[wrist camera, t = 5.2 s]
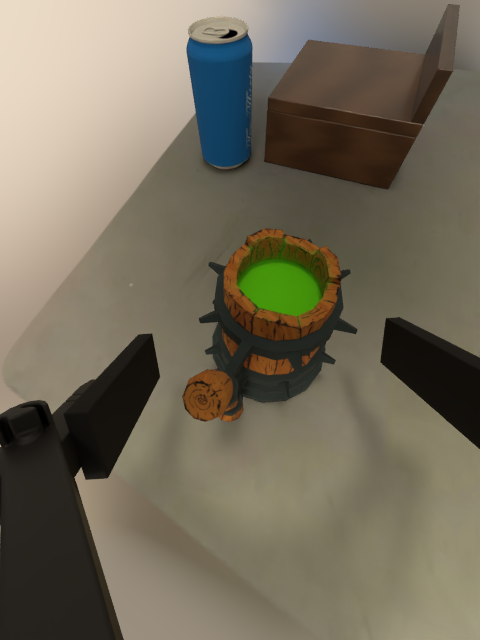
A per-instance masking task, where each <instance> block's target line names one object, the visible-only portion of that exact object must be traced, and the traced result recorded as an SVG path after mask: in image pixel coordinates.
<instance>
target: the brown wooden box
mask: <svg viewBox="0 0 480 640" xmlns="http://www.w3.org/2000/svg"><path fill="white" fill-rule="evenodd" d="M459 8H460V6H459V5H452V4H448V6H447V8H446V10H445V12H444V14H443V17H442V19H441V21H440V23H439V25H438V27H437V30H436V32H435V34H434V36H433V39H432V41H431V43H430V45H429V47H428V49H427V52H426V54H425V55H424V54H416V53H408V52H401V51H392V50H385V49H377V48H369V47H361V46H353V45H345V44H338V43H329V42H322V41H314V40H308V41H307V42H306V44H305V45H304V47H303V48H302V50H301V51H300V52H299V54H298V55H297V57H296V58H295V60H294V61H293V63H292V64H291V66H290V67H289V68H288V70H287V71H286V73H285V74H284V76H283V77H282V79H281V80H280V81H279V83H278V84H277V86H276V87H275V89H274V90H273V92H272V93H271V94H270V96H269V97H268V111H267V127H266V143H265V159H264V161H266V162H270V163H275V164H279V165H283V166H288V167H292V168H297V169H301V170H305V171H310V172H314V173H319V174H323V175H328V176H332V177H336V178H341V179H345V180H350V181H354V182H358V183H363V184H367V185H372V186H376V187H381V188H385V189H388V188H389V186H390V185H391V183H392V181H393V179H394V177H395V175H396V174H397V172H398V170H399V168H400V166H401V165H402V163H403V161H404V159H405V157H406V155H407V154H408V152H409V150H410V148H411V146H412V145H413V143H414V141H415V139H416V137H417V135H418V134H419V132H420V130H421V128H422V126H423V124H424V123H425V121H426V119H427V117H428V115H429V114H430V112H431V110H432V108H433V106H434V105H435V103H436V101H437V99H438V97H439V95H440V94H441V92H442V90H443V88H444V86H445V85H446V83H447V81H448V79H449V77H450V75H451V74H452V72H453V65H454V56H455V46H456V37H457V27H458V18H459Z"/></svg>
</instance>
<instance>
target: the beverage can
mask: <svg viewBox="0 0 480 640" xmlns="http://www.w3.org/2000/svg"><path fill="white" fill-rule="evenodd" d="M247 32H248V25H247V24H246V23H245V22H244V21H242V20H239V19H236V18H231V17H213V18H207V19H202V20H200V21H197V22H195V23H193V24H192V25H191V26H190V27H189V29H188V33H189V36H190V38H189V41H188V44H187V57H188V63H189V70H190V76H191V83H192V89H193V96H194V103H195V109H196V116H197V123H198V129H199V136H200V142H201V149H202V155H203V158H204V159H205V161H207V162H208V163H209V164H211V165H213V166H214V167H216V168H219V169H233V168H236V167H238V166H240V165H241V164H242V163H243V162H245V161H246V160H247V159H248V158H249V156H250V154H251V106H252V43H251V40H250V38H249V36H248V34H247Z"/></svg>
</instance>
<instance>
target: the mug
mask: <svg viewBox="0 0 480 640" xmlns="http://www.w3.org/2000/svg"><path fill="white" fill-rule="evenodd" d="M208 266H209V267H211V268H212V269H213V270H214V271H215V272H216V273H218V274H219V276H218V278H217V286H216V293H215V300H213V304H214V309H215V311H213V312H211V313H209V314H207V315H205V316H203V317H201V318H199V321H200V323H210V322H218V325H217V327H216V329H215V332H214V334H213V346H212V347H210V348H208V349H207V350H205V352H206V355H207V354H213V359H214V361H215V363H216V365H217V367H218V370H208V369H207V370H205V371H203V372H201V373H199V374H197V375H196V376H194V377H192V378H190V379H189V381H188V384H187V386H186V389H185V391H184V394H183V396H182V397H183V402H184V406H185V409H186V410H187V412H188V413H189V414H190V415H191V416H192V417H193V418H194V419H198V420H201V421H205V422H206V421H209V420H212V419H214V418H217V417H219V418H220V419H221V420H224V421H228V422H231V421H234V420H236V419H238V418H239V417H240V415H241V413H242V411H243V403H242V400H243V396H245V397H248V398H251V399H254V400H256V401H259V402H275V401H286V400H288V399H290V398H291V397H293V396H295V395H297V394H299V393H301V392H303V391H305V390H306V389H307V388H308V387H309V385H310V384H311V383H312V381H313V380H314V379H315V377H316V376H317V375H318V373H319V372H320V371H321V367H322V362H326V363H330V364H334V363H335V361H336V360H335V359H333V358H332V357H330V356H329V355H327V354H326V353H325V344H326V341H327V340H329V338H330V336H331V334H332V332H333V330H339V331H344V332H348V333H353V334H356V332H357V329H356V328H355V327H353V326H351V325H350V324H348V323H347V322H345V321H343V320H342V319H340V318H339V317H340V314H341V312H342V310H343V300H342V291H341V283H340V282H341V279H343V278H344V277H346V276H347V275H349V274H350V270H348V269H347V270H342V271H340V267H339V262H338V258H337V256H335V255H334V254H333V253H332V252H331V251H330V250H329V249H328V248H327V247H326V246H324V247H322V248H319V247H317V246H315V245H314V244H312V241H311V240H305V239H302V238H298V237H293V236H289V235H285V234H284V230H276V229H262V230H260V231H258V232H256V233H254V234H252V235H250V236H247V240H246V243H245V244H244V245H243V246H242V247H240V248H239V249H238V250H237V251H236V252H235V253H234V254H233V255H232V256H231V258H230V260H229V262H228V264H227V265H226V266H223V265H219V264H216V263H213V262H209V265H208Z"/></svg>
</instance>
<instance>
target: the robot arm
mask: <svg viewBox="0 0 480 640" xmlns="http://www.w3.org/2000/svg"><path fill="white" fill-rule="evenodd" d="M380 362H381V363H382V364H383V365H384V366H385V367H386V368H388V369H389V370H390V371H391V372H392V373H393V374H394V375H396V376H397V377H398V378H399V379H400V380H401V381H402V382H404V383H405V384H406V385H407V386H408V387H409V388H410V389H412V390H413V391H414V392H415V393H416V394H417V395H418V396H420V397H421V398H422V399H423V400H424V401H425V402H426V403H428V404H429V405H430V406H431V407H432V408H433V409H434V410H436V411H437V412H438V413H439V414H440V415H441V416H442V417H444V418H445V419H446V420H447V421H448V422H449V423H450V424H452V425H453V426H454V427H455V428H456V429H457V430H458V431H460V432H461V433H462V434H463V435H464V436H465V437H466V438H468V439H469V440H470V441H471V442H472V443H473V444H474V445H476V446H477V447H478V448H479V449H480V358H479V357H477V356H475V355H473V354H471V353H469V352H467V351H465V350H463V349H461V348H459V347H457V346H455V345H453V344H451V343H449V342H447V341H445V340H444V339H442V338H440V337H438V336H436V335H434V334H432V333H430V332H428V331H426V330H424V329H422V328H420V327H418V326H416V325H414V324H412V323H410V322H408V321H406V320H404V319H402V318H400V317H398V318H386V322H385V330H384V337H383V345H382V353H381V361H380ZM159 378H160V374H159V368H158V363H157V358H156V352H155V347H154V341H153V336H152V334H140V335H138V336H137V337H136V338H135V339H134V340H133V341H132V342H131V343H130V344H129V345H128V346H127V347H126V348H125V349H124V350H123V351H122V352H121V353H120V355H119V356H118V357H117V358H116V359H115V360H114V361H113V362H112V363H111V364H110V365H109V366H108V367H107V368H106V369H105V370H104V371H103V373H102V374H101V375H100V376H99V377H98V378H97V379H96V380H90V381H89V382H87V383H85V384H84V385H82V386H80V387H79V388H78V389H77V390H76V391H75V392H74V393H73V394H72V396H70V397H69V398H68V399H67V400H66V402H64V403H63V404H62V405H61V406H60V407H59V408H58V409H57V410H56V411H55V412H54V413H53V414H52V415H51V412H50V409H49V406H48V404H47V403H46V402H45V401H41V400H37V401H30V402H26V403H23V404H20V405H17V406H15V407H13V408H10V409H8V410H7V411H5V412H4V413H2V414H0V445H1V447H0V525H1V533H0V640H124V639H123V636H122V633H121V630H120V626H119V623H118V620H117V616H116V613H115V610H114V606H113V603H112V600H111V596H110V593H109V590H108V586H107V583H106V580H105V576H104V573H103V570H102V567H101V564H100V560H99V557H98V553H97V550H96V547H95V543H94V541H93V537H92V533H91V530H90V527H89V523H88V520H87V517H86V514H85V510H84V507H83V504H82V500H81V497H80V494H79V490H78V487H77V484H76V481H75V478H74V477H75V476H76V474H77V473H78V471H79V469H80V468H81V467H82V470H83V473H84V476H85V479H86V480H88V479H104V478H108V477H109V475H110V473H111V471H112V469H113V467H114V465H115V463H116V461H117V459H118V457H119V455H120V454H121V452H122V450H123V448H124V446H125V444H126V442H127V440H128V438H129V436H130V434H131V432H132V430H133V428H134V426H135V424H136V422H137V421H138V419H139V417H140V415H141V413H142V411H143V409H144V407H145V405H146V403H147V401H148V399H149V397H150V395H151V393H152V391H153V390H154V388H155V386H156V384H157V382H158V380H159Z"/></svg>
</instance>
